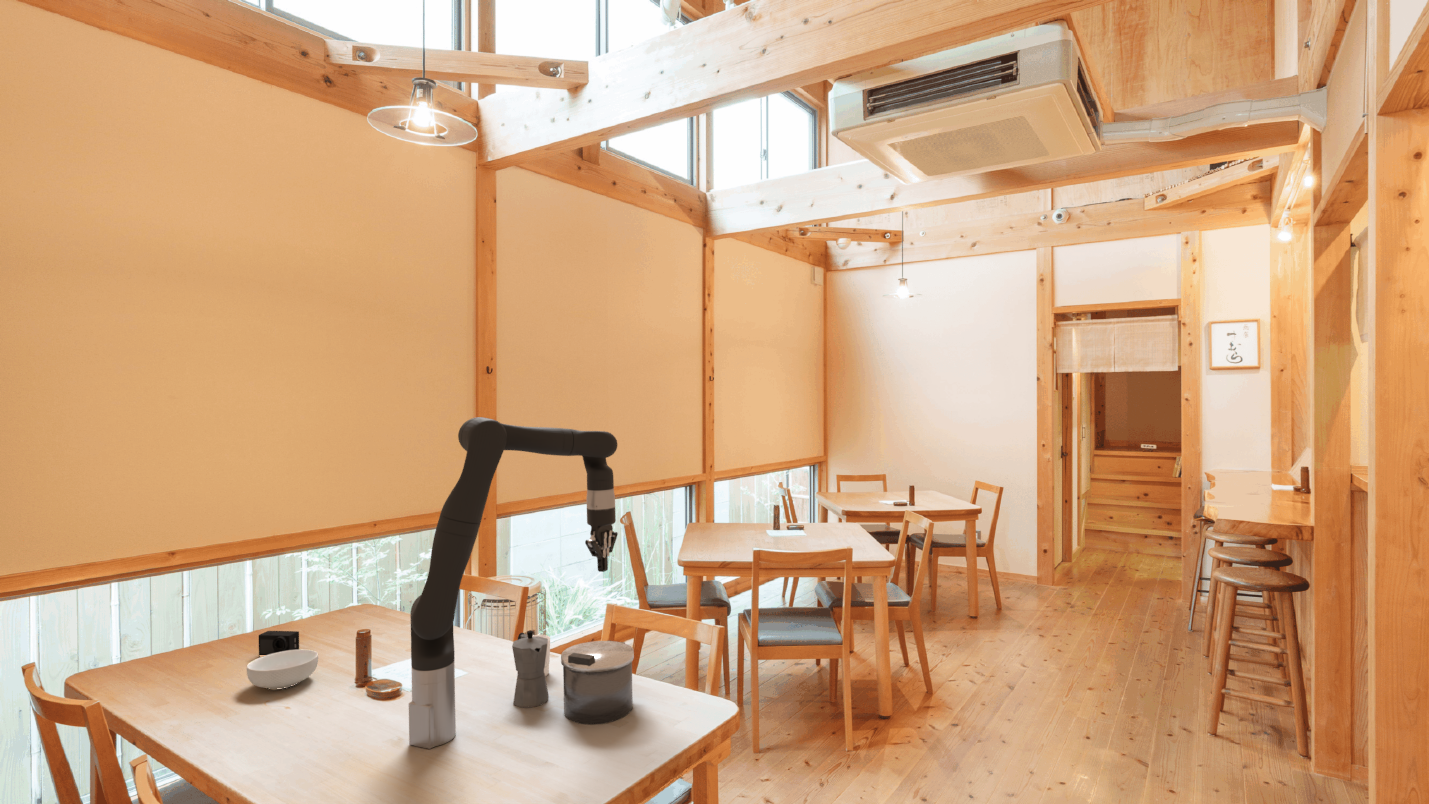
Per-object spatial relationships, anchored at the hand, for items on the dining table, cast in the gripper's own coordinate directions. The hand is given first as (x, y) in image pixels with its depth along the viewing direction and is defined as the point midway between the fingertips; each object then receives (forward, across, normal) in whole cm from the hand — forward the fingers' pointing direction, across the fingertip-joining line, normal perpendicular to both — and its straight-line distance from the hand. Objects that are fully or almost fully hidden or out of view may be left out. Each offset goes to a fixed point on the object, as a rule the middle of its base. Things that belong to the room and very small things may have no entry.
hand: (602, 570), depth 183 cm
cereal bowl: (+31, -28, +87) cm, 96 cm away
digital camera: (+31, -13, +110) cm, 115 cm away
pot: (+32, -10, -4) cm, 34 cm away
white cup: (+32, +3, +24) cm, 40 cm away
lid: (+20, -9, -4) cm, 22 cm away
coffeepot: (+32, -11, +16) cm, 38 cm away
